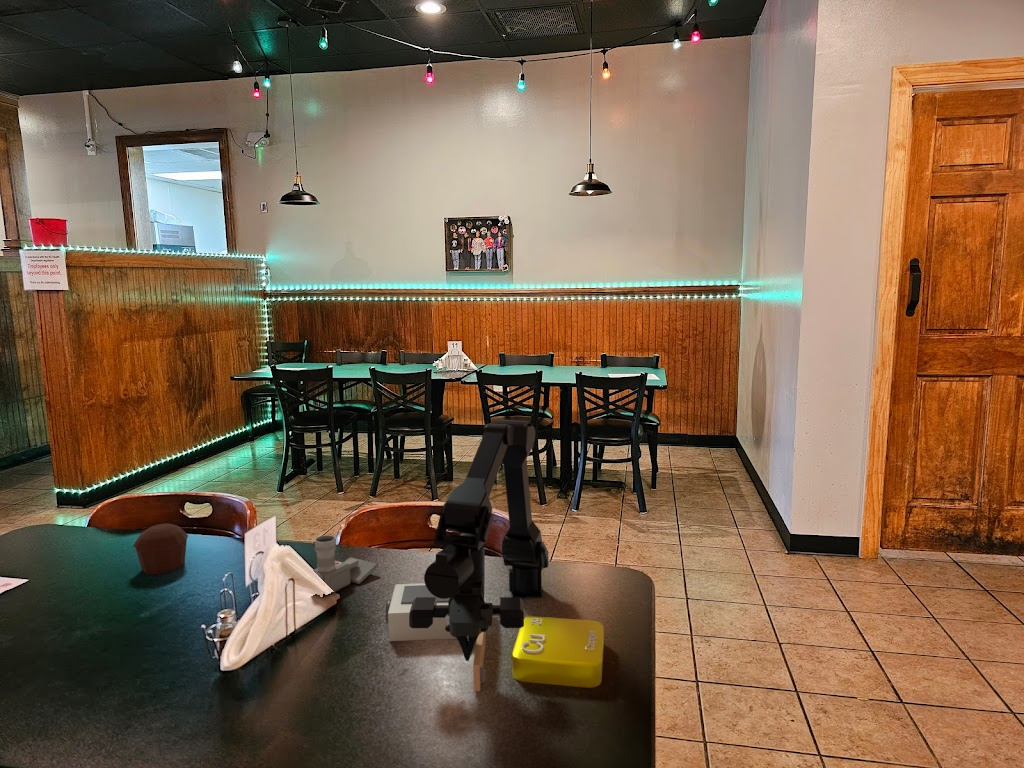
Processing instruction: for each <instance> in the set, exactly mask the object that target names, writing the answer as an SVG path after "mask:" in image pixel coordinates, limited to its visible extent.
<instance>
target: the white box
mask: <svg viewBox="0 0 1024 768" xmlns="http://www.w3.org/2000/svg"><path fill="white" fill-rule="evenodd" d="M416 597H436V596H434V595H432V594H431V593H430V592H429V590H428V589H427V587H426V585H425V582H421V583H398V584H395V585H394V589H393V593H392V597H391V599H386V602H385V603H386V604H385V622H386V625H388V641H389V642H402V641H403V642H405V641H406V642H407V641H427V640H448V639H449V640H450V639H451V640H452V639H453V640H455V639H456V640H457V638H456V637H453V636H452V635H451V634H450V632H447V631H446V630H445V627H446V621H445V618H433V624H432V625H431V626H430V627H429V628H411V627H409V613H410V609H411V606H412V602H413V600H414V599H415V598H416ZM436 600H437V605H448V602H449V598H447V599H441V598H438V597H436ZM467 637H469V636H467Z"/></svg>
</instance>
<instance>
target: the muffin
mask: <svg viewBox="0 0 1024 768" xmlns="http://www.w3.org/2000/svg"><path fill="white" fill-rule="evenodd" d="M188 537H189V534H187V533H186V532H185V530H184V529H183V528H181V527H180V526H178V525H177V524H172V523H159V524H155V525H152V526H150V527H147V529H145V530H143V532H141V533H140V535H139V536H138V538H136V540H135V542H134V544H132V547H133V548H134V549H135V551H136V553H137V557H138V560H139V561H138V562H139V564H140V567H141V568H140V569H141V571H142V570H143V571H142V572H143V573H145V575H155V574H158V575H162V574H161V573H163V574H166V572H169V573H172V572H174V571H176V570H179V569H182V567H183V565H184V564H185V563H186V552H187V543H188V542H187V541H188ZM181 566H182V567H181ZM178 568H179V569H178ZM173 570H174V571H173ZM171 571H172V572H171Z"/></svg>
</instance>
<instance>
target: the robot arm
mask: <svg viewBox="0 0 1024 768" xmlns="http://www.w3.org/2000/svg"><path fill="white" fill-rule="evenodd" d="M481 431H482V432H481V433H482V434H481V440H480V442H479V445H478V447H477V450H476V452H475V455H474V457H473V460H472V462H471V464H470V465H469V466H470V467H469V469H468V471H467V474H466V476H465V479H464V481H463V482H461V483H459V485H458V486H457V485H456V487H454V488H453V489H452V491H451V492H450V494H449V496H448V497H447V498H446V500H445V502H444V504H443V505H442V507H441V511H440V515H439V519H438V522H437V527H436V531H435V535H434V540H433V545H434V546H442V548H441V550H440V551H437V552H436V553H435V560H434V561H433V562H432V563H430V564H429V565H428V566H427V567H426V570H425V572H424V575H423V580H424V583H425V585H426V587H427V589H428V590H429V592H430V593H431V594H432V595H434V596H436V597H438V598H441V599H447V598H449V602H448V605H437V600H436V597H416V598H415V599H414V600H413V602H412V606H411V609H410V613H409V627H411V628H429V627H430V626H431V625H432V624H433V618H445V621H446V627H445V630H446V631H447V632H450V634H451V635H452V636H453V637H456V640H457V642H458V644H459V646H460V648H461V649H460V650H461V651H462V654H463V655H462V656H464V657H463V658H464V659H465V661H466V662H469V661H470V659H471V655H472V653H473V650H474V647H475V646H476V642H477V638H478V636H479V634H480V633H481V632H486V633H487V632H488V631H489V627H493V619H494V618H499V625H501V627H503V628H504V629H520V628H522V627H524V618H525V611H524V600H523V599H529V598H543V597H544V594H543V590H542V589H543V587H542V585H543V584H542V578H543V577H542V571H543V570H544V569H546V568H547V569H548V568H549V557H550V556H549V550H548V549H547V546H546V545H545V543H544V541H543V537H542V533H541V532H542V531H541V530H540V529H539V527H538V526H537V524H536V523H535V522H534V521H533V518H532V506H531V495H530V484H529V470H528V457H529V454H530V453H531V452H532V451H533V448H534V444H535V440H536V429H535V426H533V424H532V423H531V422H530V421H529V420H518V419H497V420H496V422H495V423H493V422H491V423H485V424H484V426H483V427H482V430H481ZM501 466H503V474H504V484H505V493H506V495H505V496H506V505H507V513H508V523H509V527H508V529H507V530H506V533H505V535H504V537H503V539H502V541H501V543H502V544H501V553H502V559H503V560H502V561H503V565H504V566H505V567H507V566H510V568H508V591H509V593H511V597H509V596H508V597H507V596H506V597H505V596H502V597H501V596H500V598H499V600H500V602H499V604H495V605H494V604H493V603H492V602H486V586H485V585H486V583H485V581H486V580H485V579H486V578H485V575H486V574H485V570H486V569H485V568H486V567H485V565H486V564H485V562H486V561H485V555H486V554H485V548H486V545H485V543H487V541H488V537H489V535H490V530H491V526H492V523H493V520H494V515H493V506H492V504H491V503H492V502H491V500H490V497H491V492H492V490H493V487H494V484H495V482H496V478H497V477H498V474H499V471H500V467H501ZM447 532H451V533H447ZM453 533H457V534H453ZM458 533H459V534H458ZM467 636H469V637H467Z"/></svg>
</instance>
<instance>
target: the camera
mask: <svg viewBox="0 0 1024 768" xmlns="http://www.w3.org/2000/svg"><path fill="white" fill-rule="evenodd" d="M336 550H337V547H336V536H335V535H331V534H330V535H329V534H328V535H327V534H325V535H319V536H318V537H316V538H315V539H314V552H316V565H317V567H316V568H314V569H312V570H313V571H314V572H315V573H316V574H317V575H318V576H319V577H320V578H321V579H322V580H323V581H324V582H325V583H326V584H327V585H328V586H329V587H330V588H331V589H332V590H333V591H335V592H334V593H336V592H337V591H340V590H341V589H343V588H345V587H347V586H349V585H350V584H351V583H354V584H358V585H360V584H361V583H362V582H363V581H365V579H366V578H367V577H369V575H371V574H372V573H373V572H374V571H376V569H377V568H378V567H379V564H378V563H375V562H370V561H367V560H363V559H359V558H355V557H351V556H349V557H348V558H347V559H345V561H339V560H336V556H335V555H336V554H335V553H336V552H335V551H336Z"/></svg>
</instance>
